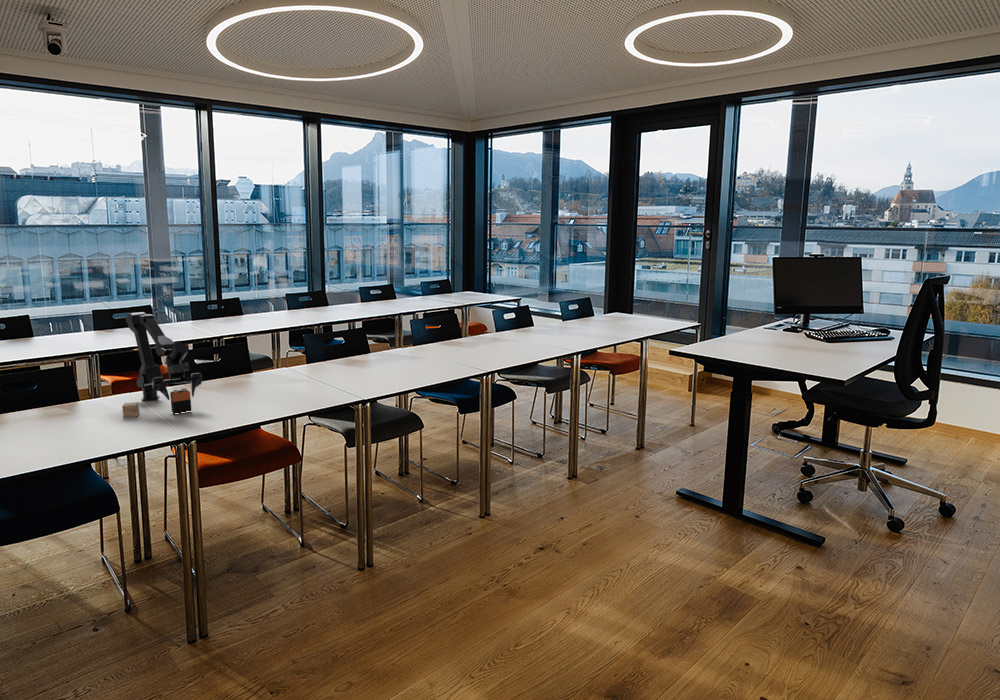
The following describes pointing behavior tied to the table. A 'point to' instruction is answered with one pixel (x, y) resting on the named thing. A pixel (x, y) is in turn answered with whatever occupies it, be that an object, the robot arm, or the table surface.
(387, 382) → the table surface
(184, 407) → the battery
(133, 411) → the beige cube
